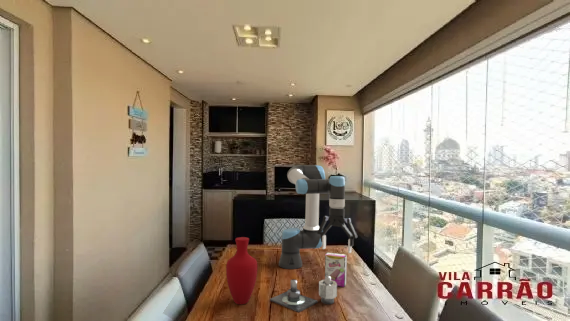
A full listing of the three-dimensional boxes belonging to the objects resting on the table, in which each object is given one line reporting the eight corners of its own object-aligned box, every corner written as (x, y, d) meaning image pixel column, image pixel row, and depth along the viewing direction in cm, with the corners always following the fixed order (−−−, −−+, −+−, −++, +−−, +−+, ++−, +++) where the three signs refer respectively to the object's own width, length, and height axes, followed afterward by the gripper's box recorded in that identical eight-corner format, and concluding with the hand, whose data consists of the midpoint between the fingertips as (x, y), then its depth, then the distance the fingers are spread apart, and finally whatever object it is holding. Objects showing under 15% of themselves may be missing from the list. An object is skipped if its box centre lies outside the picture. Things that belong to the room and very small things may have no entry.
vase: (229, 311, 143) (230, 243, 143) (222, 298, 156) (223, 236, 157) (261, 305, 149) (262, 240, 149) (251, 293, 162) (252, 233, 162)
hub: (269, 300, 154) (270, 279, 154) (288, 292, 165) (289, 272, 165) (299, 312, 142) (299, 289, 142) (317, 302, 153) (317, 281, 153)
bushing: (315, 295, 153) (316, 282, 153) (325, 290, 159) (325, 278, 159) (330, 300, 148) (330, 287, 148) (339, 295, 154) (339, 282, 154)
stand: (318, 301, 153) (319, 276, 154) (325, 297, 158) (326, 273, 158) (329, 305, 149) (329, 279, 150) (336, 301, 154) (336, 276, 154)
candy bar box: (324, 284, 175) (324, 254, 175) (326, 281, 180) (326, 252, 180) (345, 287, 171) (345, 256, 171) (346, 284, 176) (346, 254, 176)
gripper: (310, 206, 162) (310, 248, 162) (359, 210, 149) (358, 256, 149) (317, 204, 169) (317, 245, 168) (364, 208, 156) (363, 252, 155)
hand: (336, 250), depth 159 cm, fingers open, 13 cm apart
